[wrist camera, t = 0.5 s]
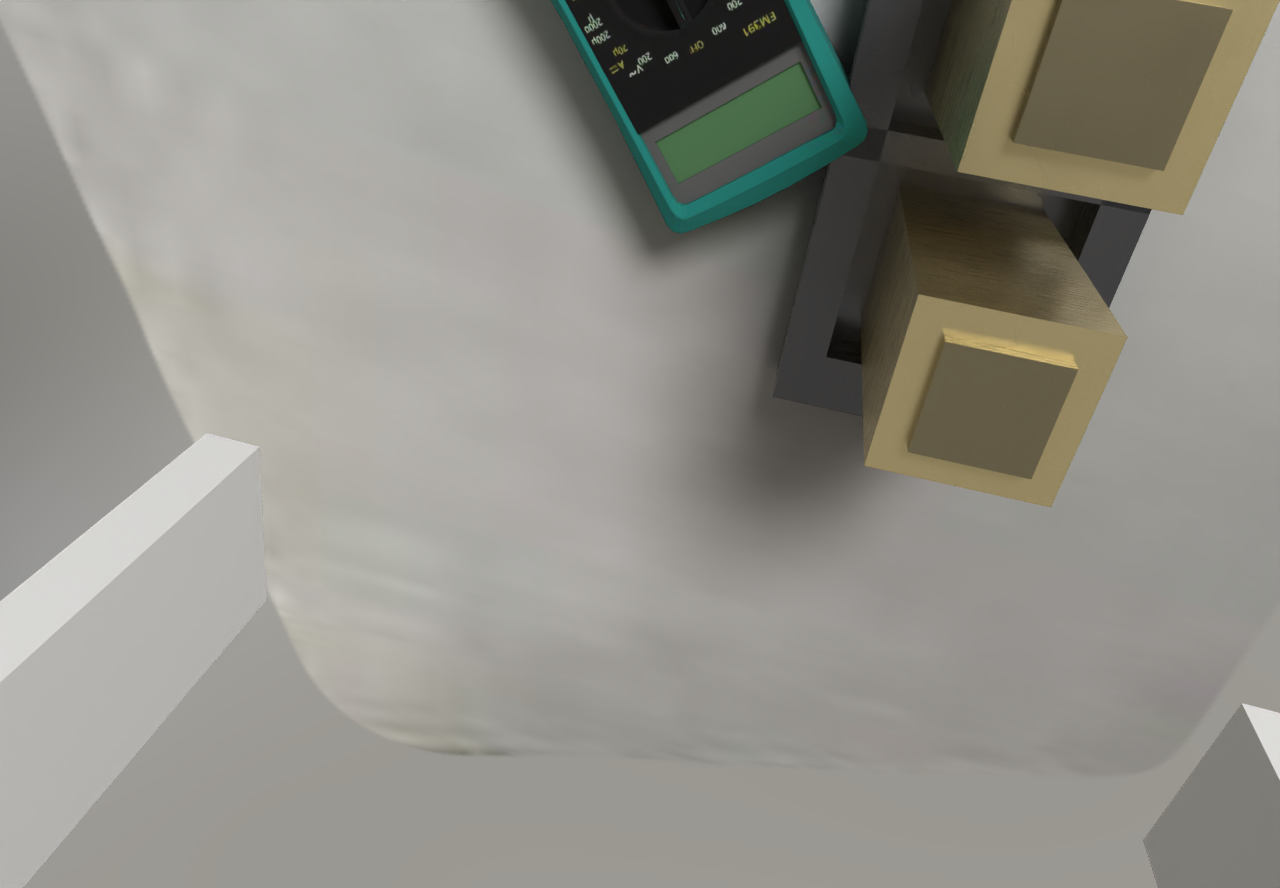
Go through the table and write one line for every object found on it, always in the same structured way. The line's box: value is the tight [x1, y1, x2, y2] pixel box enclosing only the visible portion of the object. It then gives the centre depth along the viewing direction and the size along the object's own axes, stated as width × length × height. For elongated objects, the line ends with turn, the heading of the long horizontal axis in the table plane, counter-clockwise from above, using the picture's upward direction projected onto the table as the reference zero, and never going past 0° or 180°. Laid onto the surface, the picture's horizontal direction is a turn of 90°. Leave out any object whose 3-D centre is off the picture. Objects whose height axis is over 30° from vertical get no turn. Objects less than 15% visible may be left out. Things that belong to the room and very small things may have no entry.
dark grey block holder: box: [773, 0, 1152, 416], centre depth 31 cm, size 19×10×2 cm, turn 172°
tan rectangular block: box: [925, 0, 1280, 215], centre depth 24 cm, size 5×5×11 cm
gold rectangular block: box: [861, 184, 1128, 507], centre depth 28 cm, size 5×5×11 cm
